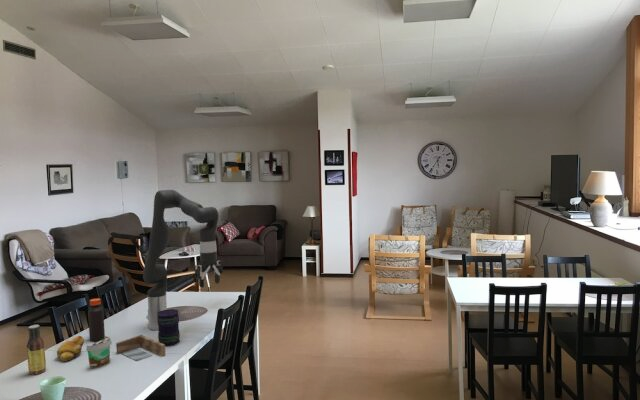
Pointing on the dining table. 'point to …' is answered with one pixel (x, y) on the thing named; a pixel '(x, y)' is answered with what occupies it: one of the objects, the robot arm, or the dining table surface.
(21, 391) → the dining table surface
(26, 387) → the dining table surface
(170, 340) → the rusty blue oil drum
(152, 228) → the robot arm
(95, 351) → the food container
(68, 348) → the bread roll
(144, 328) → the dining table surface
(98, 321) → the vinegar
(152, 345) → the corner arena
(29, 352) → the sauce bottle
